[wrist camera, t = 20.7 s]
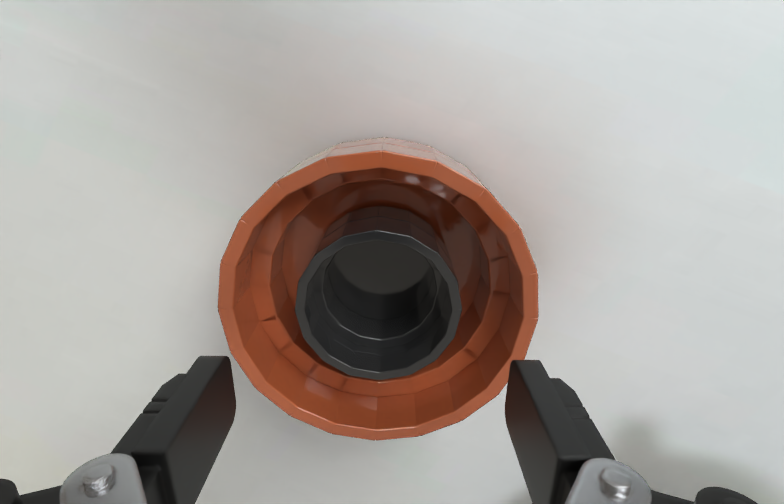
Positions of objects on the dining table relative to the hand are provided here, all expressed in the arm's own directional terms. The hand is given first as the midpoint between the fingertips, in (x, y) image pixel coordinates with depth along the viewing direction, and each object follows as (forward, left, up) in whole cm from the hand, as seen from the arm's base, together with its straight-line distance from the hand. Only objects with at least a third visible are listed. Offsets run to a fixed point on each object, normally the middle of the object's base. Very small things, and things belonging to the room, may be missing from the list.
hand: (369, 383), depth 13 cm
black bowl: (0, 0, -9) cm, 9 cm away
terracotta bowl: (0, 0, -10) cm, 10 cm away
